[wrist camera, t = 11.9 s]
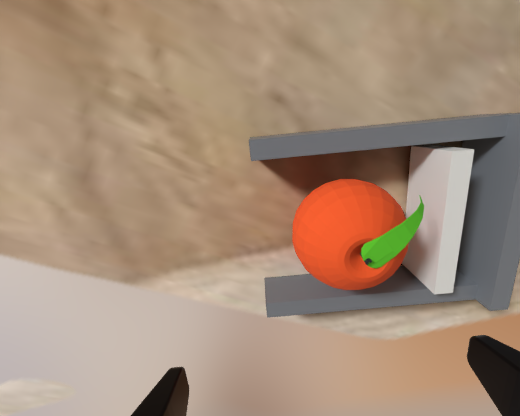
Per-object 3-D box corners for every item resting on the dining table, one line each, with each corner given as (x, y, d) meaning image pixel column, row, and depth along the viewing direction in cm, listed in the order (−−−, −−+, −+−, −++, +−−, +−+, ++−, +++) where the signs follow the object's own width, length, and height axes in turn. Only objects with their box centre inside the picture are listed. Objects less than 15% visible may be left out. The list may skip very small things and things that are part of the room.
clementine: (358, 139, 18) (417, 150, 12) (407, 213, 20) (483, 260, 13) (268, 208, 20) (273, 252, 13) (320, 271, 22) (348, 339, 15)
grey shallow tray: (483, 114, 18) (553, 111, 14) (459, 273, 22) (507, 309, 17) (250, 137, 18) (248, 141, 14) (265, 290, 22) (268, 329, 18)
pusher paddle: (428, 144, 18) (474, 149, 14) (417, 262, 21) (452, 292, 17) (411, 145, 18) (452, 151, 14) (402, 263, 21) (434, 294, 17)
